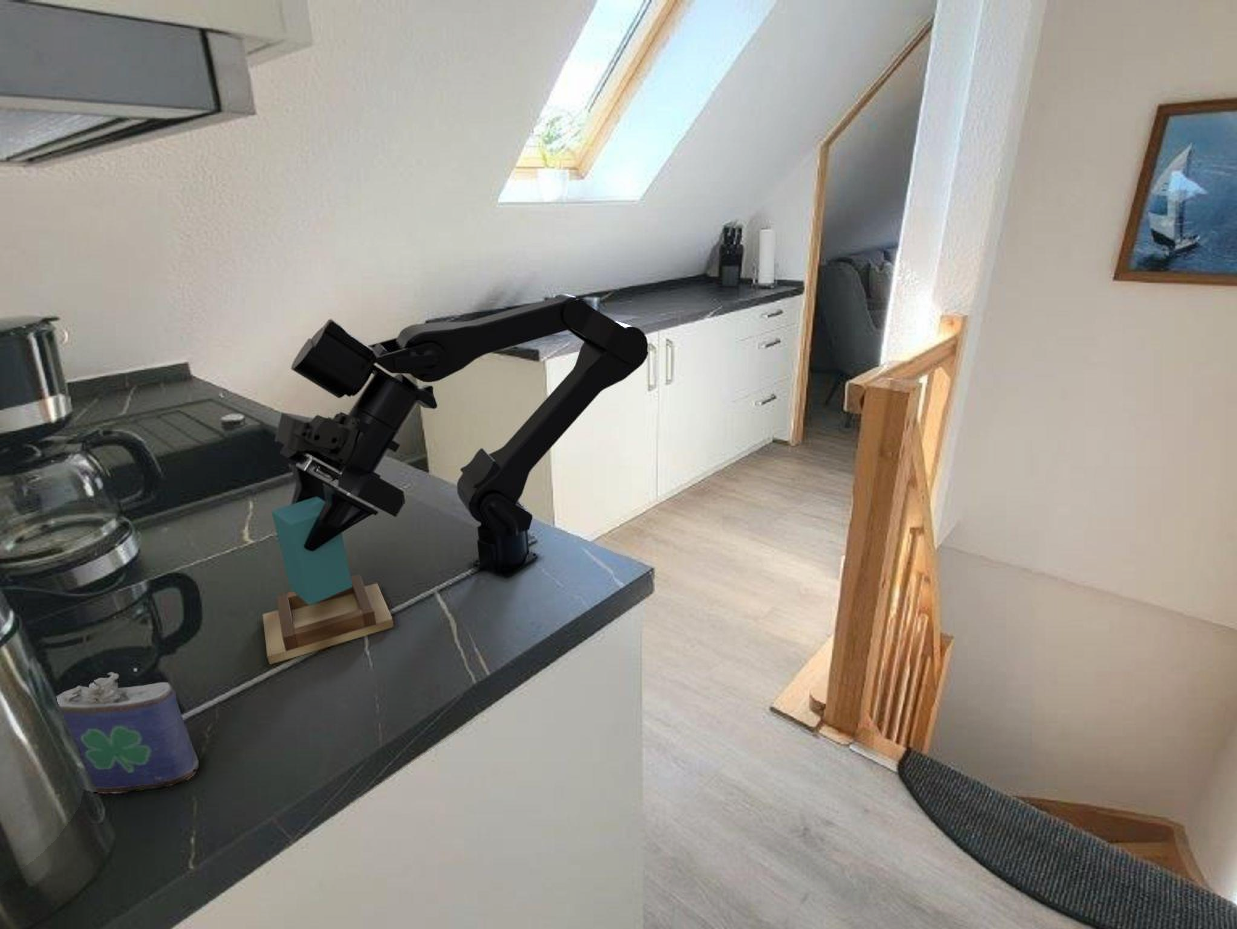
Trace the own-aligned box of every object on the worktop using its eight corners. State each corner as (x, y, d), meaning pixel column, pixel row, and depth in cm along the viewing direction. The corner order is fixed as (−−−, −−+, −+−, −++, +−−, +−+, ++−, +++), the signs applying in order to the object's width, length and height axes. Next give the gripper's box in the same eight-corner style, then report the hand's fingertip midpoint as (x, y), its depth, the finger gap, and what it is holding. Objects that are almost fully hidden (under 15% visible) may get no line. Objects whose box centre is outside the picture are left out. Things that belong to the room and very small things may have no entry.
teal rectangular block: (333, 572, 78) (316, 496, 74) (353, 587, 74) (336, 508, 71) (290, 589, 74) (271, 510, 71) (309, 606, 71) (289, 524, 67)
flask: (205, 760, 58) (171, 661, 54) (188, 787, 55) (151, 686, 51) (95, 769, 57) (53, 670, 53) (72, 797, 54) (26, 695, 50)
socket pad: (378, 590, 83) (374, 569, 82) (394, 628, 75) (390, 606, 74) (264, 621, 77) (258, 600, 76) (269, 666, 69) (263, 643, 68)
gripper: (280, 369, 74) (198, 488, 71) (358, 397, 62) (263, 541, 59) (358, 419, 83) (287, 527, 79) (439, 452, 71) (360, 581, 67)
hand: (297, 541), depth 71 cm, fingers closed on teal rectangular block, 5 cm apart
